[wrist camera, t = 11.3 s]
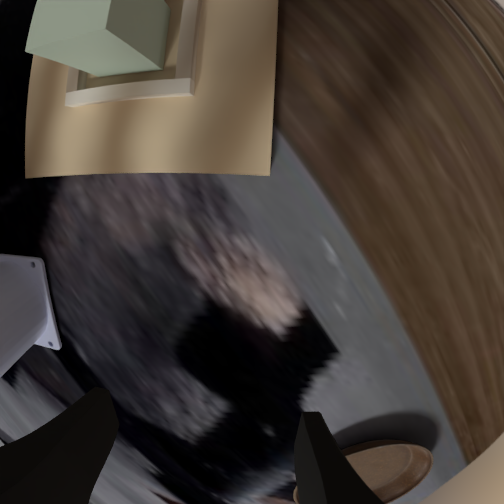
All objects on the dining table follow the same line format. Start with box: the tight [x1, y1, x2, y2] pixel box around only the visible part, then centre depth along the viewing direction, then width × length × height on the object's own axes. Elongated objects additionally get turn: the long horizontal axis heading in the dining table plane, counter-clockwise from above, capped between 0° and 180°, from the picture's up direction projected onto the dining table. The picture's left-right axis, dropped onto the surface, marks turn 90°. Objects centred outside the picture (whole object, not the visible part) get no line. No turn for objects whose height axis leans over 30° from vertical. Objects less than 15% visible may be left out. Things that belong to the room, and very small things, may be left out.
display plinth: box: [25, 0, 278, 178], centre depth 14 cm, size 16×16×2 cm
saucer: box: [293, 440, 433, 504], centre depth 25 cm, size 15×15×3 cm
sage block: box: [25, 0, 171, 77], centre depth 11 cm, size 4×4×7 cm
